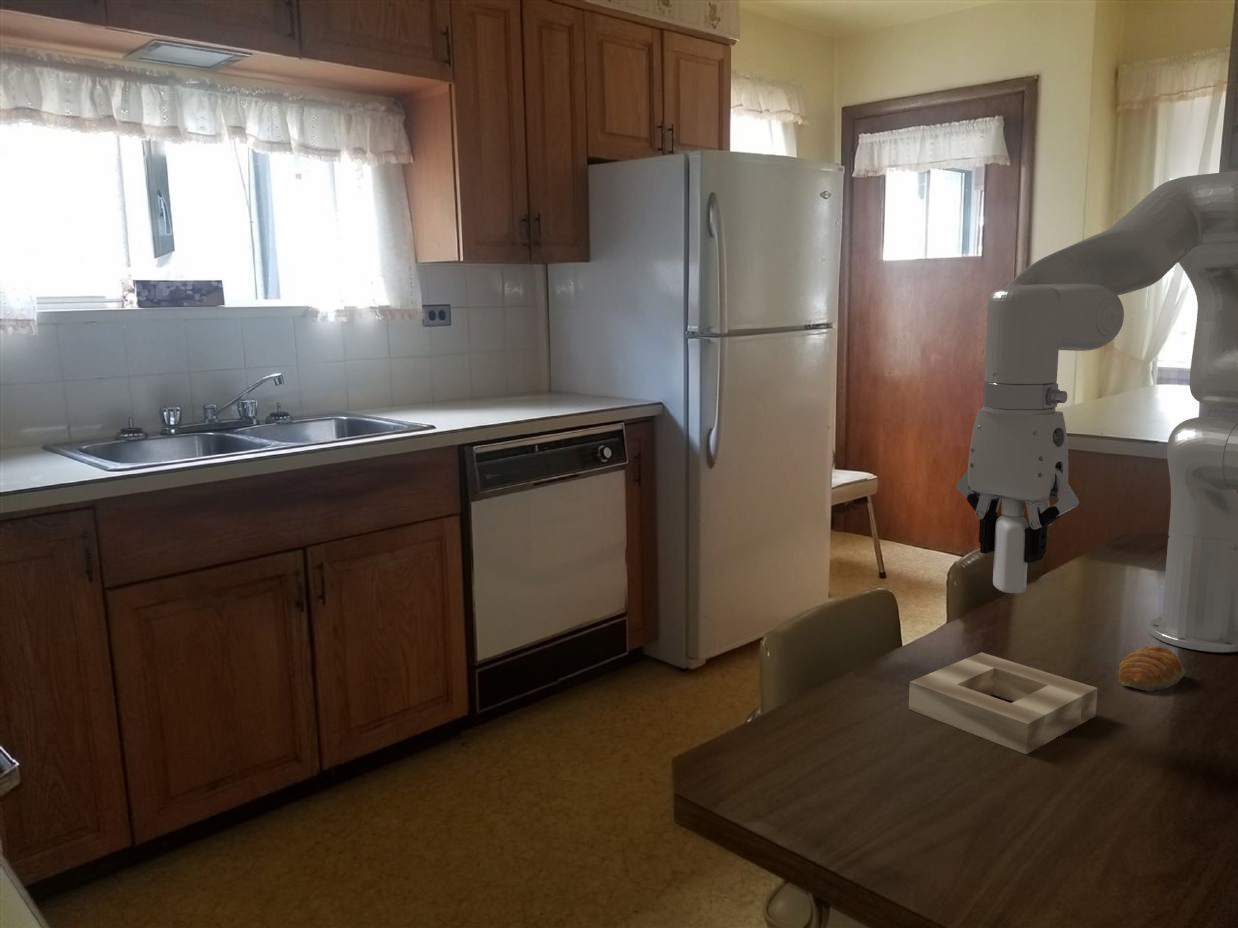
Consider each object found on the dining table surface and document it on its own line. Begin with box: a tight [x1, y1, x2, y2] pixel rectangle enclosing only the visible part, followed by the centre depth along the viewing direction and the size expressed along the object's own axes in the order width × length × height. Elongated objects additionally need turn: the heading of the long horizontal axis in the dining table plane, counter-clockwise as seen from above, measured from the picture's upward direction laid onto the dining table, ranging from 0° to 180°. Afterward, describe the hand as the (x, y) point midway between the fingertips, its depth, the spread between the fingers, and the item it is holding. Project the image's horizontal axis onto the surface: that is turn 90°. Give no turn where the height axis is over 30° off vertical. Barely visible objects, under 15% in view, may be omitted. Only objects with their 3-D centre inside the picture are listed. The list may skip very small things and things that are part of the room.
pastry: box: [1118, 645, 1186, 692], centre depth 122 cm, size 9×7×4 cm
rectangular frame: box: [908, 652, 1098, 755], centre depth 113 cm, size 15×15×4 cm
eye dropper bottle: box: [992, 498, 1030, 594], centre depth 110 cm, size 4×6×12 cm
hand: (1011, 554), depth 110 cm, fingers closed on eye dropper bottle, 4 cm apart
